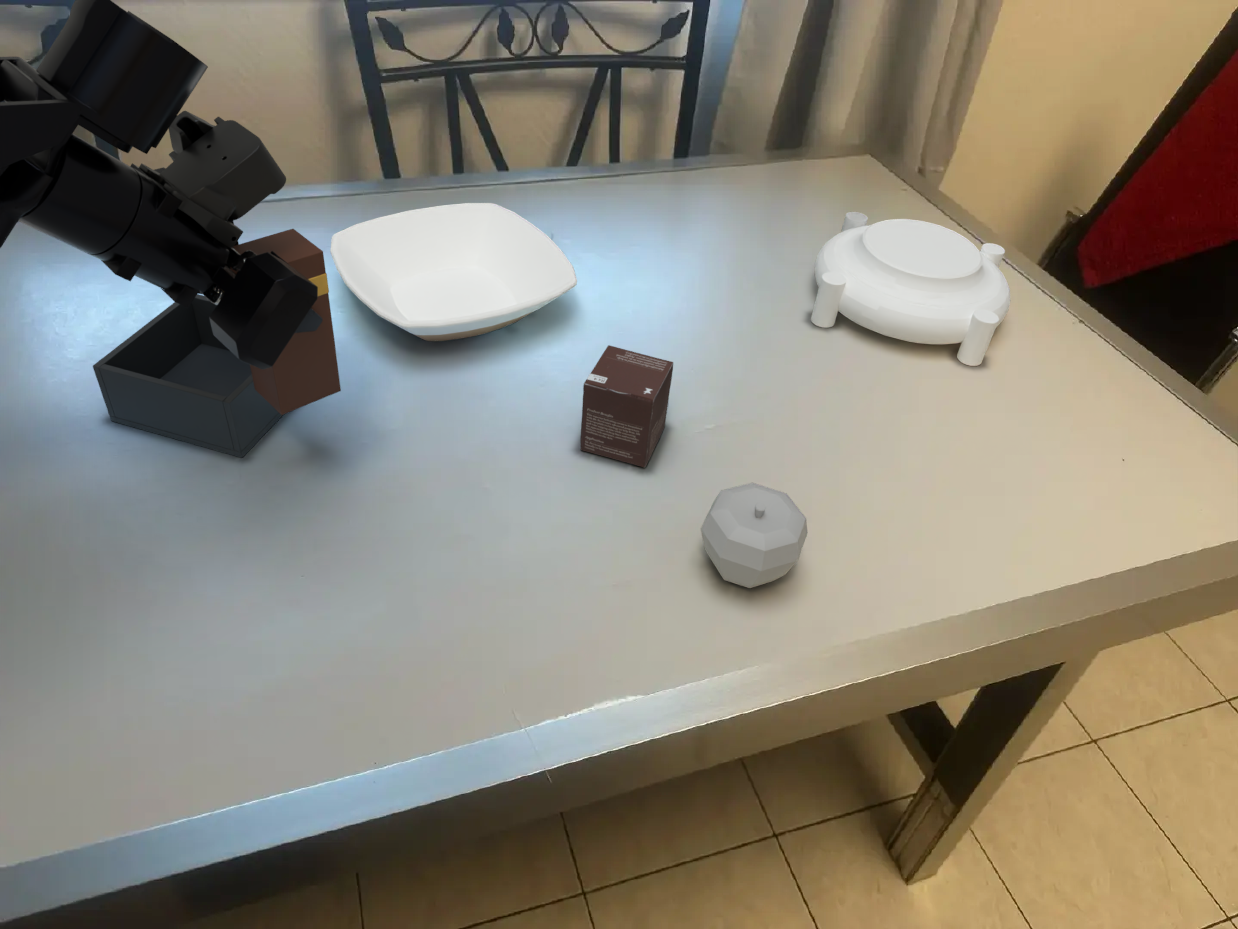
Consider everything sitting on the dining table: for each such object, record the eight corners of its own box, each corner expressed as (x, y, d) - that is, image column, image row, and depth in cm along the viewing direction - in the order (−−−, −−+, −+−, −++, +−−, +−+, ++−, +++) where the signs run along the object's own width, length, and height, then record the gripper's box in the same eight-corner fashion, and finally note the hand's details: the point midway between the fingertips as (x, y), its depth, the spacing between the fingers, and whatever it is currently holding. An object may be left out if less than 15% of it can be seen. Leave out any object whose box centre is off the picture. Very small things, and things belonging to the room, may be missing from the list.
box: (666, 429, 84) (676, 361, 79) (645, 470, 80) (654, 401, 75) (601, 411, 85) (607, 342, 81) (577, 451, 81) (582, 381, 76)
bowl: (501, 235, 108) (501, 191, 104) (601, 332, 95) (605, 286, 91) (312, 275, 98) (306, 229, 95) (395, 390, 85) (390, 341, 82)
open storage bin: (110, 421, 79) (92, 365, 75) (200, 344, 88) (188, 291, 84) (242, 458, 77) (229, 403, 73) (320, 375, 86) (312, 323, 82)
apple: (736, 516, 77) (751, 455, 72) (817, 571, 73) (837, 509, 69) (671, 565, 72) (682, 503, 68) (753, 626, 68) (771, 564, 64)
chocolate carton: (281, 416, 70) (255, 273, 63) (253, 389, 73) (224, 247, 65) (342, 390, 73) (324, 251, 65) (313, 366, 75) (293, 227, 68)
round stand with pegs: (919, 238, 116) (937, 183, 112) (1063, 344, 101) (1091, 285, 96) (753, 267, 107) (764, 208, 103) (882, 389, 92) (903, 326, 87)
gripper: (263, 151, 51) (441, 273, 64) (115, 45, 60) (297, 171, 74) (150, 324, 51) (349, 409, 65) (21, 193, 61) (218, 291, 74)
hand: (303, 311), depth 69 cm, fingers closed on chocolate carton, 4 cm apart
